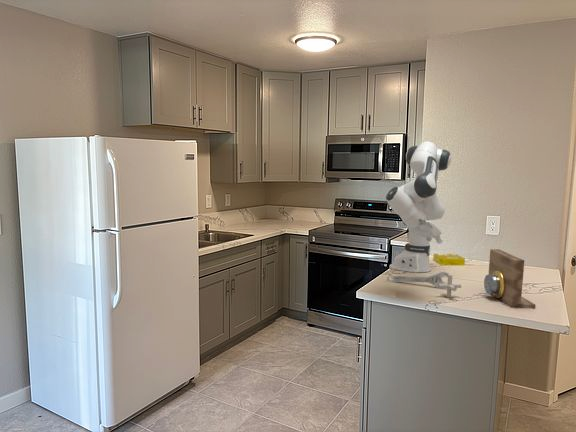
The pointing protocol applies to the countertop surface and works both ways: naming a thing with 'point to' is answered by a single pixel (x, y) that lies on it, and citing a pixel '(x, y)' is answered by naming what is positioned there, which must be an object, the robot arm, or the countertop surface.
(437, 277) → the wrench
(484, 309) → the countertop surface
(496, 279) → the door knob
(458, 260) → the element tile
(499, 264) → the board
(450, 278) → the pipe connector
